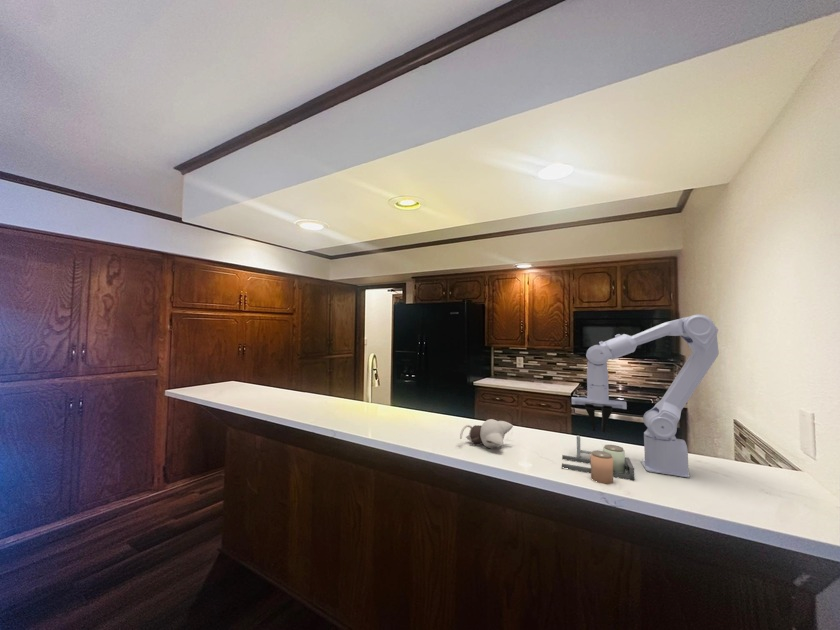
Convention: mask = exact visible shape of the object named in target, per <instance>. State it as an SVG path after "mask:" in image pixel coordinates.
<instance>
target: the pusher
mask: <svg viewBox="0 0 840 630" xmlns="http://www.w3.org/2000/svg"><path fill="white" fill-rule="evenodd" d="M596 451H600V450H599V449H598V450H596ZM591 453H592V450H591V451H589V450H584V449H582V448H581V436H580V435H576V457H579V458H582V457H581V456H582V454H585V455H586V454H587V455H591Z"/></svg>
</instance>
